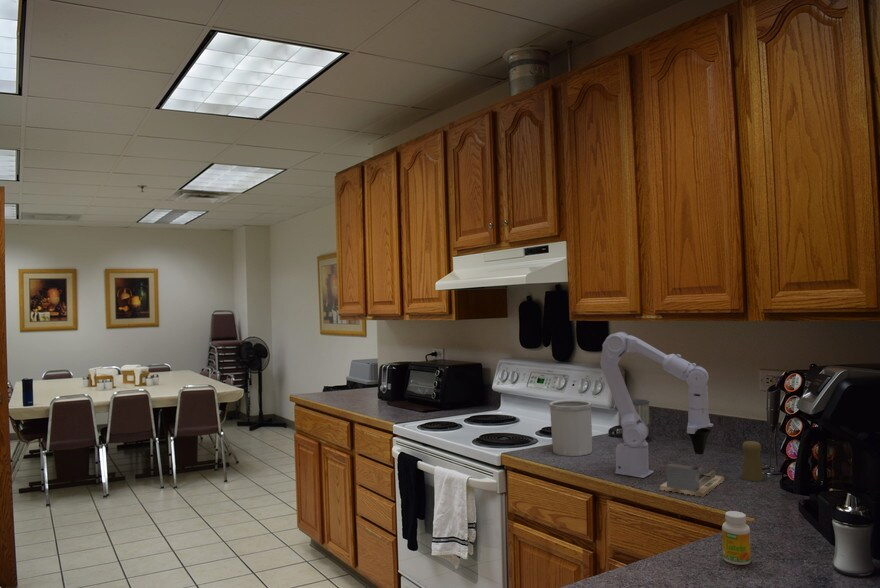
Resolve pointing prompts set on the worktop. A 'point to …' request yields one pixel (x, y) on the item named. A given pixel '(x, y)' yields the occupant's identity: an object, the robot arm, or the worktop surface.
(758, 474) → the cork
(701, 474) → the gauge carriage
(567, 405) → the utensil holder
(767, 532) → the worktop surface
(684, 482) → the grey box
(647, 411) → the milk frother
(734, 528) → the supplement bottle
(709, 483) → the gauge board
